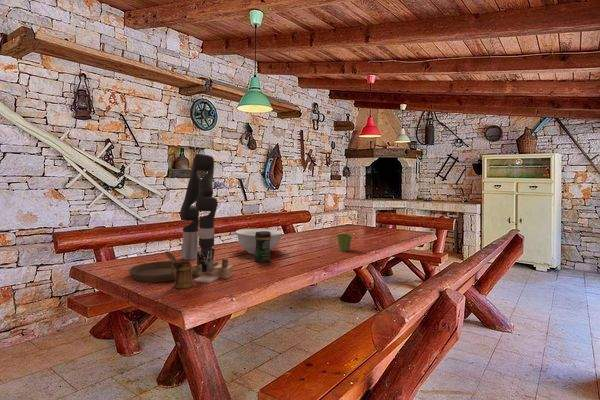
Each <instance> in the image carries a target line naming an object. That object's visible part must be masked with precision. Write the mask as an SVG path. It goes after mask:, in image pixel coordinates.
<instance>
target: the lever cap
mask: <svg viewBox="0 0 600 400" xmlns="http://www.w3.org/2000/svg"><path fill="white" fill-rule="evenodd" d="M213 262H214V260H212V261H207V264H206V265H207V271H206V272H208V273H209V272H211V271H213ZM200 272H202V264H200Z"/></svg>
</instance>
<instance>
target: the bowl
mask: <svg viewBox="0 0 600 400" xmlns="http://www.w3.org/2000/svg"><path fill="white" fill-rule="evenodd" d="M260 231H268V232H270V233H271V239H270V251H272V250H273V249H275V248H276V247H277V246H278V245H279V243H280V240H281V239H280V238H281V236H282V234H283V231H282V230H278V229H269V228H242V229H238V230H236V231H235V234H236V235H237V241H238V243H239V246H240V247H242V248H243V249H245V250H246V251H247V253H248V254H250V255H255V249H256V239H255V235H256V232H260Z"/></svg>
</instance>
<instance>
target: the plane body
mask: <svg viewBox="0 0 600 400" xmlns="http://www.w3.org/2000/svg"><path fill="white" fill-rule="evenodd" d="M200 252H201V250H198V252H197V259H196V263H195V264H192V269H191V273H192V276H197V277H200V276H202V275H206V276H217V277H218V279H219V278H220V279H229V278H230V277H232V276H233V275H234V265H232V264H231V265H230V264H229V258H222V259H221V264H219V262H218V261H213V271H211V272H209V273H208V272H200V264H199V259H198V253H200Z"/></svg>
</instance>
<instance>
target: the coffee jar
mask: <svg viewBox="0 0 600 400" xmlns="http://www.w3.org/2000/svg"><path fill="white" fill-rule="evenodd" d="M255 239H256V249H255V254H254V258H253V259H254V261H255V262H257V263H259V262H260V263H265V262H269V261H271V250H270V239H271V233H270V232H268V231H260V232H256V235H255Z"/></svg>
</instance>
